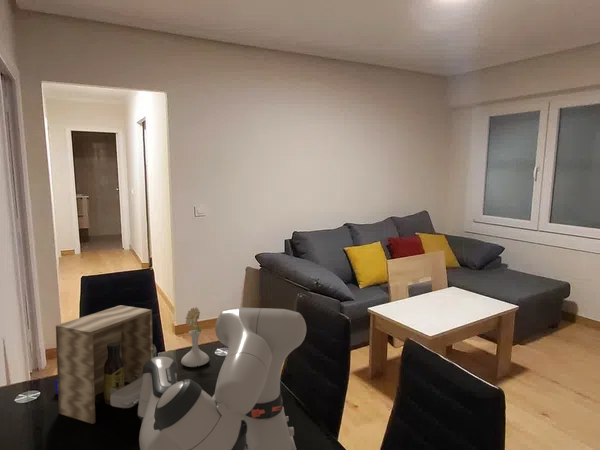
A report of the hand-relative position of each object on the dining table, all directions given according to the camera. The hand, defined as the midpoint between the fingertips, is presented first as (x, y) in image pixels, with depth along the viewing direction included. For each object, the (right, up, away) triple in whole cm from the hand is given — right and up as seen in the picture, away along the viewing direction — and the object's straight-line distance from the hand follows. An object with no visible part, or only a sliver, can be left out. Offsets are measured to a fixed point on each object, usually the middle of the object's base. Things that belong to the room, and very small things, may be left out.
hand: (122, 383), depth 134 cm
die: (-24, -7, +9) cm, 27 cm away
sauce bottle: (-4, -8, +4) cm, 9 cm away
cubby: (-6, -7, +4) cm, 10 cm away
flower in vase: (+16, -5, +33) cm, 37 cm away
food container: (-4, -6, +29) cm, 29 cm away
